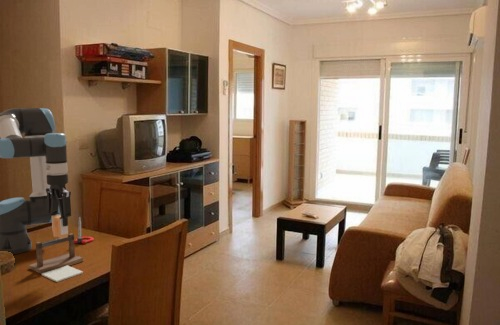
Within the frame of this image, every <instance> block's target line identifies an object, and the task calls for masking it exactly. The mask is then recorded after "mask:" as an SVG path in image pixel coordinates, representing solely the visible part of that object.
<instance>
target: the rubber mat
mask: <svg viewBox="0 0 500 325" xmlns="http://www.w3.org/2000/svg"><path fill="white" fill-rule="evenodd" d="M82 274H84V271H83V270H81V269H77V268H76V267H73V266H71V265H70V266H68V265H67V266H64V267H61V268H58V269H55V270H51V271H48V272H45V273H42V274H41V276H42V277H45V278H47V279H49V280H51V281H53V282H56V283H59V282H61V281H65V280H68V279H70V278H73V277H76V276H78V275H82Z"/></svg>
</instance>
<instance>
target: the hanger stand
mask: <svg viewBox="0 0 500 325" xmlns="http://www.w3.org/2000/svg"><path fill="white" fill-rule="evenodd" d="M74 240H75V234H74V233H73V232H72V233H68V237H66V238H63V239H59V237H57V238H55V239H51V240H47V241H44V242H41V241H37V242H35V251H36V262H35V263H32V264H28V268H29V269H30V270H31V271H34V272H36V273H38V274H41V275H42V273H45V272H48V271H51V270H55V269H58V268H61V267H64V266H67V265H68V266H70V267H71V266H72V265H76V264H79V263H81V262H84V257H81V256H79V255H77V254H75V253H76V251H75V243H74ZM65 242H68V253H65V254H62V255H58V256H55V257H51V258H47V259H45V260H44V258H43V256H44V255H43V248H47V247H50V246H54V245H57V244H61V243H65Z"/></svg>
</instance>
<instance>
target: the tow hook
mask: <svg viewBox="0 0 500 325" xmlns="http://www.w3.org/2000/svg"><path fill="white" fill-rule="evenodd" d="M77 222H78V226H77V227H78V228H77V229H78V233H77V236H78V237H77V238H76V239H75V238H74V244H81V245H86V244H87V243H91V242H93V241H95V238H94V237H92V236H82V221H81V216H79V217H78V221H77Z"/></svg>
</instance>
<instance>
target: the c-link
mask: <svg viewBox="0 0 500 325" xmlns="http://www.w3.org/2000/svg"><path fill="white" fill-rule="evenodd" d="M59 217H61V214H60V215H58V216H53V217H52V220H53V231H52V234H53V235H52V236H53V237H54V238H59V239H63V238H66V237H68V234H69V233H68V234H64V235H61V232H60V218H59Z"/></svg>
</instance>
